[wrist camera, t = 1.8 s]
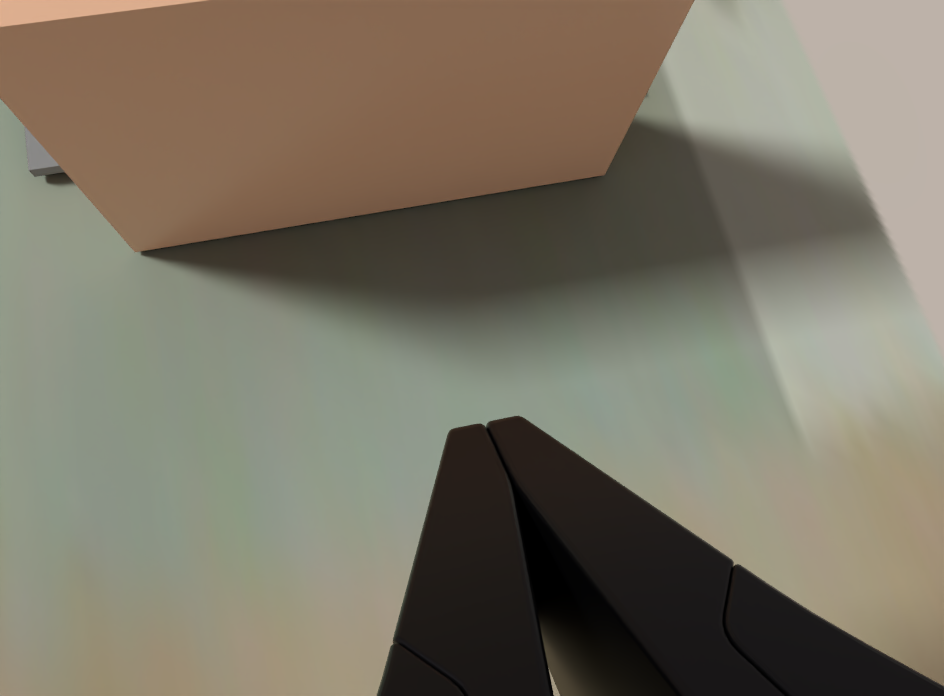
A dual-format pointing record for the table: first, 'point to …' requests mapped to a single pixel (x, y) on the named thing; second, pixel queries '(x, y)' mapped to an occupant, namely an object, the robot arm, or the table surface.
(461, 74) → the terracotta tile
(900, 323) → the table surface
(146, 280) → the table surface
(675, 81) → the table surface
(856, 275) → the table surface
